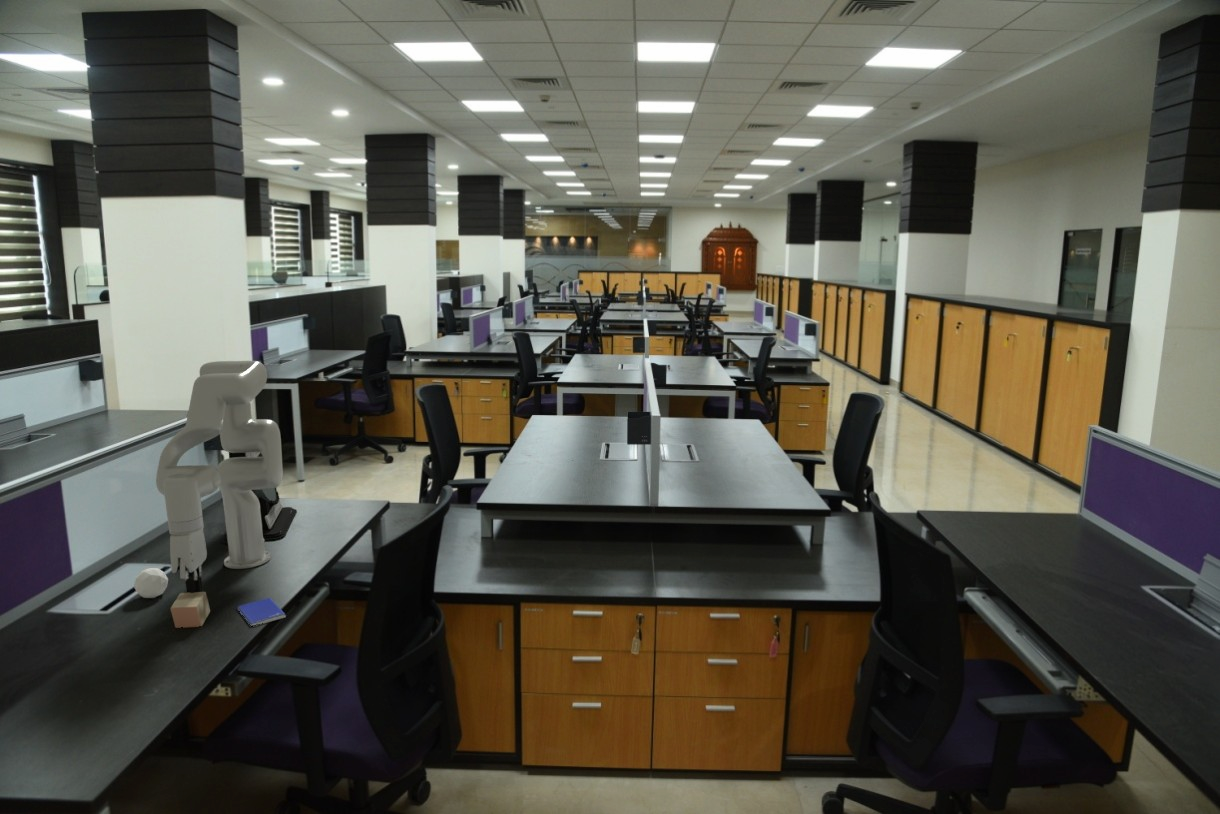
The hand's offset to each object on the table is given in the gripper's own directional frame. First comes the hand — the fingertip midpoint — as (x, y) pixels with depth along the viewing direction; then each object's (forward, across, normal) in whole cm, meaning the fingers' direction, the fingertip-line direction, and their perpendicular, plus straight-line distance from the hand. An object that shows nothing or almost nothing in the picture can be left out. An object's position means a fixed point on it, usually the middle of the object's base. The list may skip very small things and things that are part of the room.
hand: (195, 593), depth 195 cm
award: (+8, -67, -6) cm, 68 cm away
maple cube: (+2, 0, 0) cm, 2 cm away
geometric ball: (+7, -14, -17) cm, 23 cm away
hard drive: (+7, 0, +15) cm, 17 cm away
